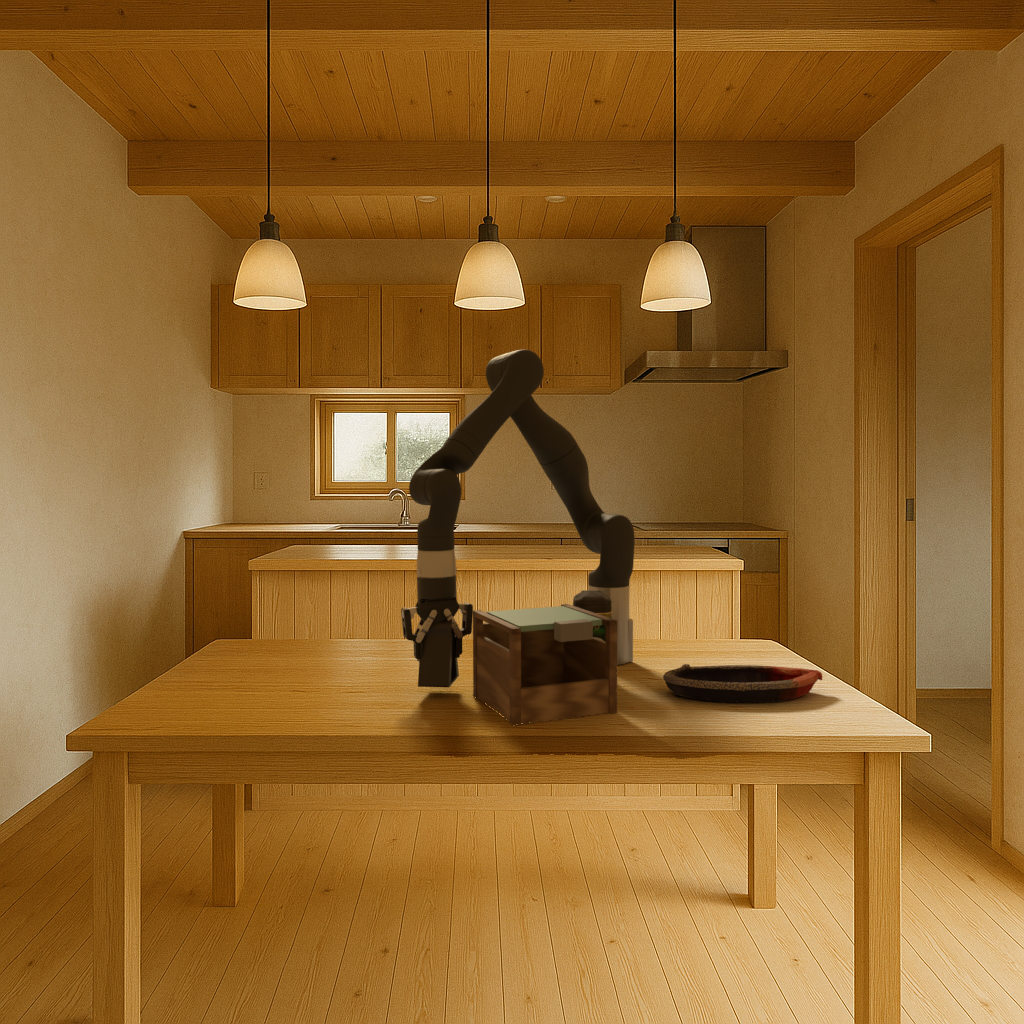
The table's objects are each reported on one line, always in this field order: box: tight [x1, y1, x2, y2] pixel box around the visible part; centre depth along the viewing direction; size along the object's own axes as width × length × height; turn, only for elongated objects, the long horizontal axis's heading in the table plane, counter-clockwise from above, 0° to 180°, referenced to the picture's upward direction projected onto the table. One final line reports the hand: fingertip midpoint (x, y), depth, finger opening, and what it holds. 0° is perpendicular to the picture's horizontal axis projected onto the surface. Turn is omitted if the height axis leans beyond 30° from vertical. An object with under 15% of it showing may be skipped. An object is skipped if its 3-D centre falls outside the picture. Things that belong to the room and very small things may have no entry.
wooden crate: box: [472, 603, 618, 726], centre depth 154 cm, size 20×20×16 cm
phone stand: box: [417, 620, 460, 688], centre depth 161 cm, size 9×6×12 cm, turn 171°
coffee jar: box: [572, 589, 612, 642], centre depth 170 cm, size 10×8×19 cm
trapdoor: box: [485, 605, 602, 642], centre depth 151 cm, size 16×22×3 cm
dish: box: [662, 663, 823, 704], centre depth 161 cm, size 16×31×5 cm, turn 90°
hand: (438, 658), depth 161 cm, fingers closed on phone stand, 6 cm apart
